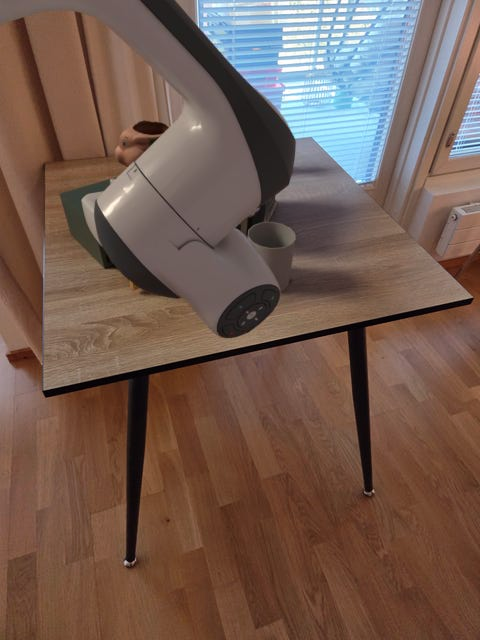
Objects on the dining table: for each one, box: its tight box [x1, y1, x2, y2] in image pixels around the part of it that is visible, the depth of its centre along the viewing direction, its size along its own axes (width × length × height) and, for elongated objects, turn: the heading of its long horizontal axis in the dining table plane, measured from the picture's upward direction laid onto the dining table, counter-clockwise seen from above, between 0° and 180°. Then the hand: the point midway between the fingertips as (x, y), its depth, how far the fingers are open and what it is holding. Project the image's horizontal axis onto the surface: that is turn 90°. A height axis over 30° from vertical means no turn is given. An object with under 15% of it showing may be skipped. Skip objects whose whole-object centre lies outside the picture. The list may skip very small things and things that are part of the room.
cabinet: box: [59, 176, 118, 269], centre depth 83 cm, size 15×13×9 cm
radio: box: [235, 195, 280, 238], centre depth 87 cm, size 23×9×15 cm, turn 156°
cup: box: [248, 221, 297, 292], centre depth 76 cm, size 8×8×10 cm
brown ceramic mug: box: [114, 120, 171, 168], centre depth 100 cm, size 20×12×14 cm, turn 125°
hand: (150, 177), depth 57 cm, fingers open, 8 cm apart
